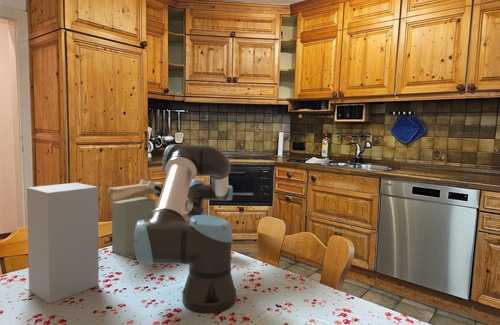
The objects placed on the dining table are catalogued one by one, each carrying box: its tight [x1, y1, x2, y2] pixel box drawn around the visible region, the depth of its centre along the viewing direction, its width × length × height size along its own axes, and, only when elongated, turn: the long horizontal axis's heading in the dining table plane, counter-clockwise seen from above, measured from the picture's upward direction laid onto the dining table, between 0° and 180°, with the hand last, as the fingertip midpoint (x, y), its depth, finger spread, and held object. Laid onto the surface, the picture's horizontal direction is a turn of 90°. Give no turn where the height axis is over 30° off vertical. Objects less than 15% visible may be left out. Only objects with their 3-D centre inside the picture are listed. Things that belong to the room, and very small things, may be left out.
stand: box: [26, 182, 100, 304], centre depth 96 cm, size 12×14×30 cm
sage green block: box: [111, 196, 156, 257], centre depth 130 cm, size 8×14×20 cm, turn 146°
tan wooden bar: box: [107, 181, 164, 201], centre depth 131 cm, size 4×23×4 cm, turn 146°
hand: (144, 182), depth 133 cm, fingers closed on tan wooden bar, 4 cm apart
